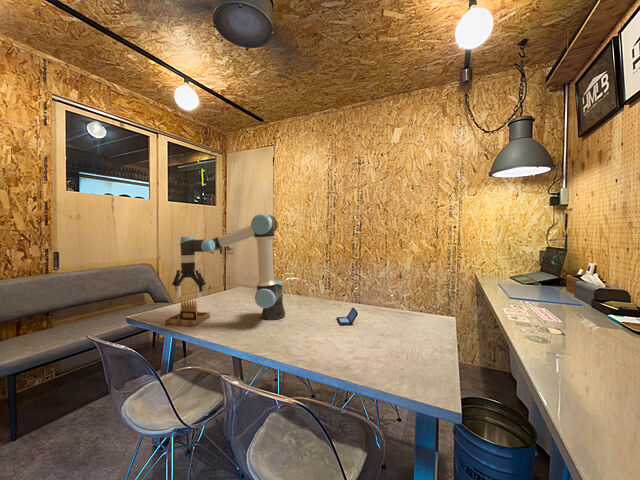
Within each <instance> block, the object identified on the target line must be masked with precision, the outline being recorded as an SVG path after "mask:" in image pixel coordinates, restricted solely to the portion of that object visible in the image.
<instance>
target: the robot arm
mask: <svg viewBox="0 0 640 480" xmlns="http://www.w3.org/2000/svg"><path fill="white" fill-rule="evenodd" d="M277 228H278V221H277V219H276V218H275V216H273V215H271V214H266V213H258V214H256V215H255V216H253V218H252V219H251V221H250V225H247V226H244V227H242V228H238V229H236V230H234V231H231V232H230V231H229V232H228V233H226V234H223V235H220V236H216V237H214V238H207V239H205V238H203V239H195V237H194V236H189V235H188V236H186V235H185V236H180V238H179V239H180V241H179V242H180V243H179V246H180V247H179V248H180V262H181V263H180V269H177V270H176V274H175V276H174V278H173V281H172V283H171V285H172V286H174V287H175V292H176V298H180V297H181V296H182V291H181V290H182V289H181V287H182V286H181V284H182V282H183V281H184V280H185V278H186V279H187V278H188V279H189V278H190V279H192V280H193V281H194V283H195V284H196V285H197V286H196V287H197V298H198V299H199V298H202V292H203V286H205V285H206V282H205V279H204V277H203V276H202V274H201V270H200V269H197V270H196V259H195V258H196V257H195V256H196V255H195V254H196V253H211V252H213V251H219V250H221V249H222V248H225V247H226V248H227V247H229V246H231V245H235V244H236V243H239V242H242V241H245V240H248V239H251V238H254V239H255V240H256V245H257V247H256V248H257V264H258V265H257V266H258V268H257V269H258V282H257V283H256V293H255V294H254V300H255V301H254V302H255V303H256V305H258V307H260V308H262V311H261V318H262V319H263V320H265V321H276V320H281V319H283V318H285V317H286V310H285V307H284V304H283V297H284V294H283V292H284V291H283V290H284V288H283V287H284V285H283V281H282V280H275V275H274V273H275V271H274V255H273V253H274V252H273V239H274V238H275V231H276V230H277Z"/></svg>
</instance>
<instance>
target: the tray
mask: <svg viewBox="0 0 640 480" xmlns="http://www.w3.org/2000/svg"><path fill="white" fill-rule="evenodd" d="M209 318H211V312H208V311H207V312H205V311H198V318H197V319H196V320H184V319H180V312H179V313H177V314H175V315H173V316H170V317H169V318H166V319H165V325H166V326H176V327H177V326H181V327H196V326H197V325H200V324H202V323H203V322H204V321H206V320H209Z"/></svg>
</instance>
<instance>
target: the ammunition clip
mask: <svg viewBox="0 0 640 480" xmlns="http://www.w3.org/2000/svg"><path fill="white" fill-rule="evenodd" d="M179 311H180V312H179V313H180V319H184V320H196V319H197V318H198V312H199V311H198V307H197V301H196V299H195V300H191V299H189V300H188V299H184V300H183V299H181V301H180V310H179Z"/></svg>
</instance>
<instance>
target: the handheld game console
mask: <svg viewBox="0 0 640 480" xmlns="http://www.w3.org/2000/svg"><path fill="white" fill-rule="evenodd" d="M358 315H359V313H358V311H357V310H356V309H355V308H354V307H351V310H350V311H349V312H348V314H347V315H346V316H342V317H341V316H337V317H336V319H337V321H338V324H339V325H340V327H342V326H353V323H354V322H355V320H356V318H357V317H358Z"/></svg>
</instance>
